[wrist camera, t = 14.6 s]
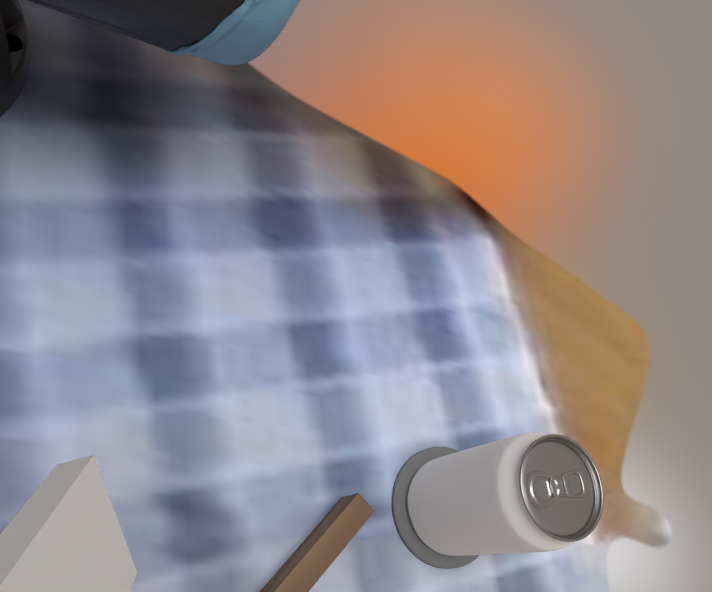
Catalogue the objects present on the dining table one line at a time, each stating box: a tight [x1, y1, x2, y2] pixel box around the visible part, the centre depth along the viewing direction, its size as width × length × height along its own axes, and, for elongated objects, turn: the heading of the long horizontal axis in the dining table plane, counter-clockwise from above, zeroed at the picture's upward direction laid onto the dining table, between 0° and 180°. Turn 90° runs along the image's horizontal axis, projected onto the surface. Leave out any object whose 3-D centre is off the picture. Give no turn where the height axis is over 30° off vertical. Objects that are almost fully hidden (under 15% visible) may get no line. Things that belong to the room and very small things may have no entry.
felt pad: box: [392, 447, 479, 568], centre depth 47 cm, size 8×8×1 cm
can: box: [408, 432, 603, 556], centre depth 41 cm, size 6×6×12 cm
